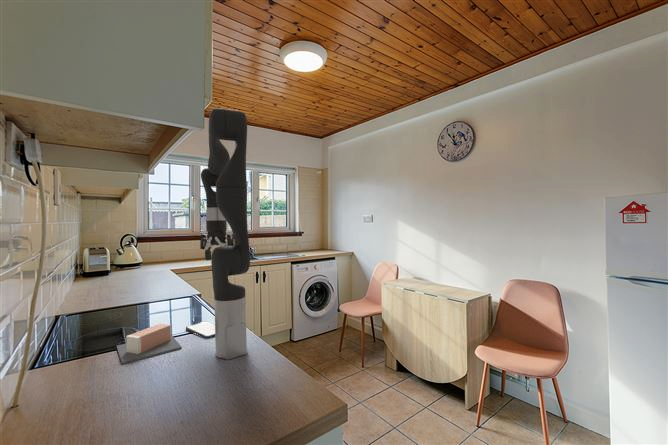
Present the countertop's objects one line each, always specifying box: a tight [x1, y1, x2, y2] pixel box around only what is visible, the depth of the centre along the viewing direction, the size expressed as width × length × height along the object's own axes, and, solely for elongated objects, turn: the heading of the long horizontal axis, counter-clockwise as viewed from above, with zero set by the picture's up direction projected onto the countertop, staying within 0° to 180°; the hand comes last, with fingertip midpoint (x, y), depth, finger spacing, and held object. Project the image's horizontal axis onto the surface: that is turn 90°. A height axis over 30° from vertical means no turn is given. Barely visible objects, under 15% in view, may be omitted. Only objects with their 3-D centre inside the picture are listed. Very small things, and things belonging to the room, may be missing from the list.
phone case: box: [185, 320, 215, 339], centre depth 115 cm, size 9×2×16 cm
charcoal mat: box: [116, 334, 183, 365], centre depth 101 cm, size 16×16×1 cm
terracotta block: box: [125, 323, 172, 354], centre depth 101 cm, size 5×5×12 cm
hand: (217, 260), depth 121 cm, fingers open, 8 cm apart
